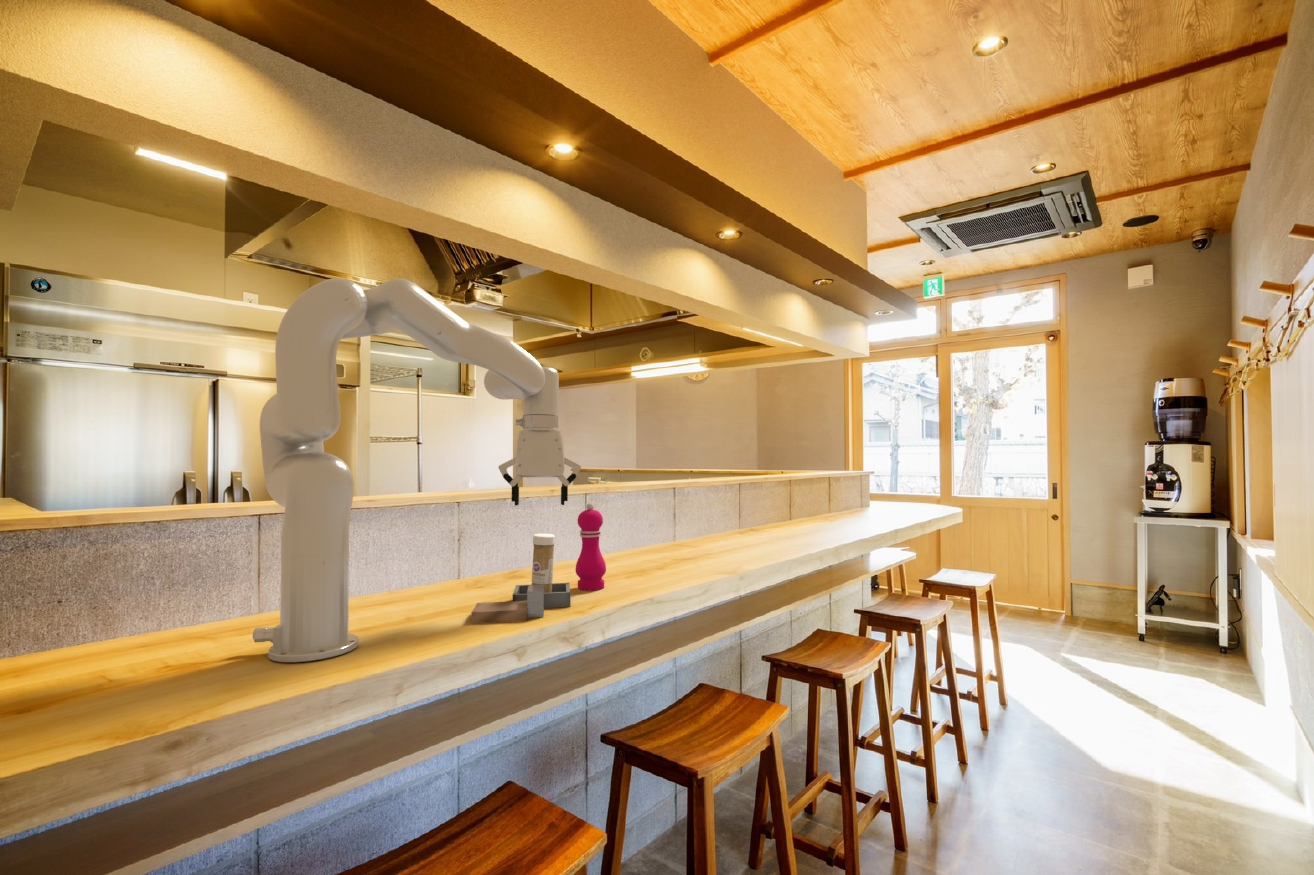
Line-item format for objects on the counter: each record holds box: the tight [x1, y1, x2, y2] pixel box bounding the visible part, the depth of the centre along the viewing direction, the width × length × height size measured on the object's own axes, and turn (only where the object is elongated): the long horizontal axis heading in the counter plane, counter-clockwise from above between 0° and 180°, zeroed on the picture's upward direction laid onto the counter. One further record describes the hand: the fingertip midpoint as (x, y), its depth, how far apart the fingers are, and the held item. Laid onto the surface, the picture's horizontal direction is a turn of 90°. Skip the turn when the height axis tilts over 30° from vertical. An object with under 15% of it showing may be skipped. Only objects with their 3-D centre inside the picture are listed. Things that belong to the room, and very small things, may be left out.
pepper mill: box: [574, 502, 607, 592], centre depth 144 cm, size 7×7×20 cm
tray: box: [512, 582, 571, 609], centre depth 129 cm, size 12×11×3 cm
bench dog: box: [527, 584, 545, 619], centre depth 120 cm, size 3×6×5 cm, turn 9°
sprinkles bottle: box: [531, 533, 556, 593], centre depth 129 cm, size 5×5×14 cm
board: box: [470, 600, 528, 625], centre depth 118 cm, size 10×8×2 cm
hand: (539, 504), depth 130 cm, fingers open, 9 cm apart
